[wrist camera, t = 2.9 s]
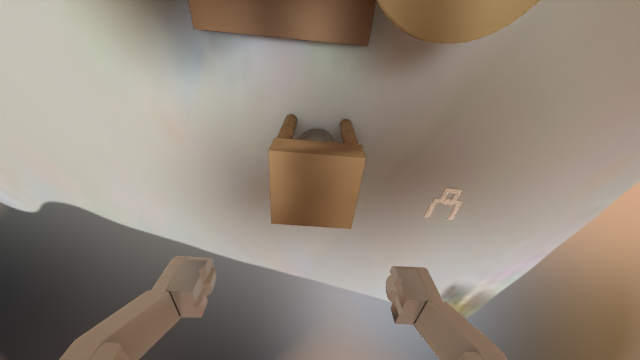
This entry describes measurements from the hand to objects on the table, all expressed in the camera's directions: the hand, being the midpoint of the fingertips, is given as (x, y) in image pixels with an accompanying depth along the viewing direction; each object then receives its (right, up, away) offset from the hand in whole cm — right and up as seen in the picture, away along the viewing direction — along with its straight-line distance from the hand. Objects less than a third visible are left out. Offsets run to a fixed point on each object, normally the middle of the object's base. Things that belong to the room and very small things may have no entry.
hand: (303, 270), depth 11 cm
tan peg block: (0, +7, +11) cm, 13 cm away
